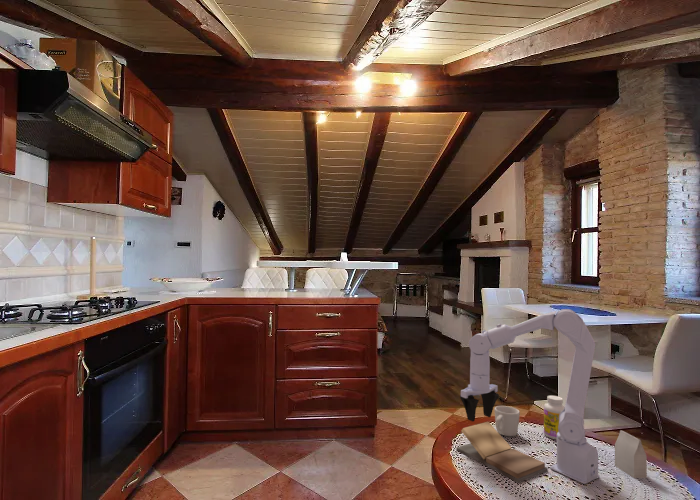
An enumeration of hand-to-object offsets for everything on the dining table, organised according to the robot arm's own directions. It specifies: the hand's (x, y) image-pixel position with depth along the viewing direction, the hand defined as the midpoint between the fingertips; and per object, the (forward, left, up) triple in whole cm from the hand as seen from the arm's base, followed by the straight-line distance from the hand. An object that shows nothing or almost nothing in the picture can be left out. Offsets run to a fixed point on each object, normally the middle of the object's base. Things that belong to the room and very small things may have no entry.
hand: (479, 418), depth 120 cm
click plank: (-2, 0, -6) cm, 6 cm away
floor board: (-7, 0, -9) cm, 12 cm away
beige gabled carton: (-29, -27, -10) cm, 41 cm away
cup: (+4, -17, -10) cm, 20 cm away
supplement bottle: (-5, -31, -10) cm, 33 cm away
